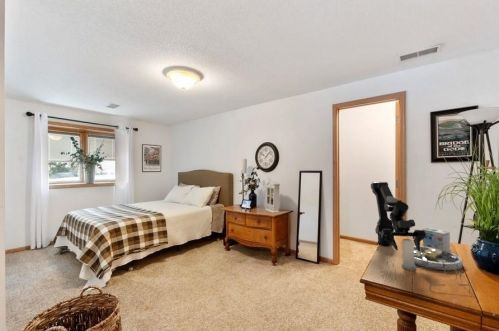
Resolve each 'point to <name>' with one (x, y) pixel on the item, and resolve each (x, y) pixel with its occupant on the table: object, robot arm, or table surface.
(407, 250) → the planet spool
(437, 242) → the light bulb box
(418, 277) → the table surface
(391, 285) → the table surface
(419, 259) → the carrier plate
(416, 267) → the eyeglasses
